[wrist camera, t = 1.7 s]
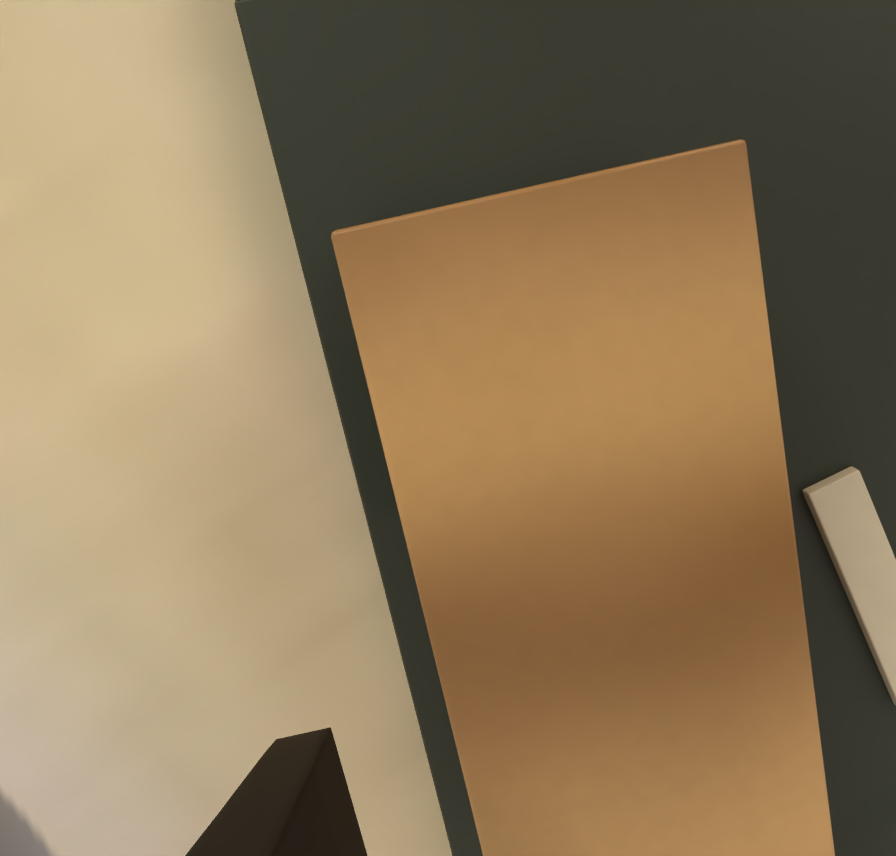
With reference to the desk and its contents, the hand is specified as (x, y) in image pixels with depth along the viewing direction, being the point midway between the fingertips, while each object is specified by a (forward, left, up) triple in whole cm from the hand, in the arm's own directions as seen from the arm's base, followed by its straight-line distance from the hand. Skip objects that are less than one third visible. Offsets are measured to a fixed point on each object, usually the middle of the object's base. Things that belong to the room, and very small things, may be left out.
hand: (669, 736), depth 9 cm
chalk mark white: (-3, -6, -6) cm, 9 cm away
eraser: (0, 0, -6) cm, 6 cm away
